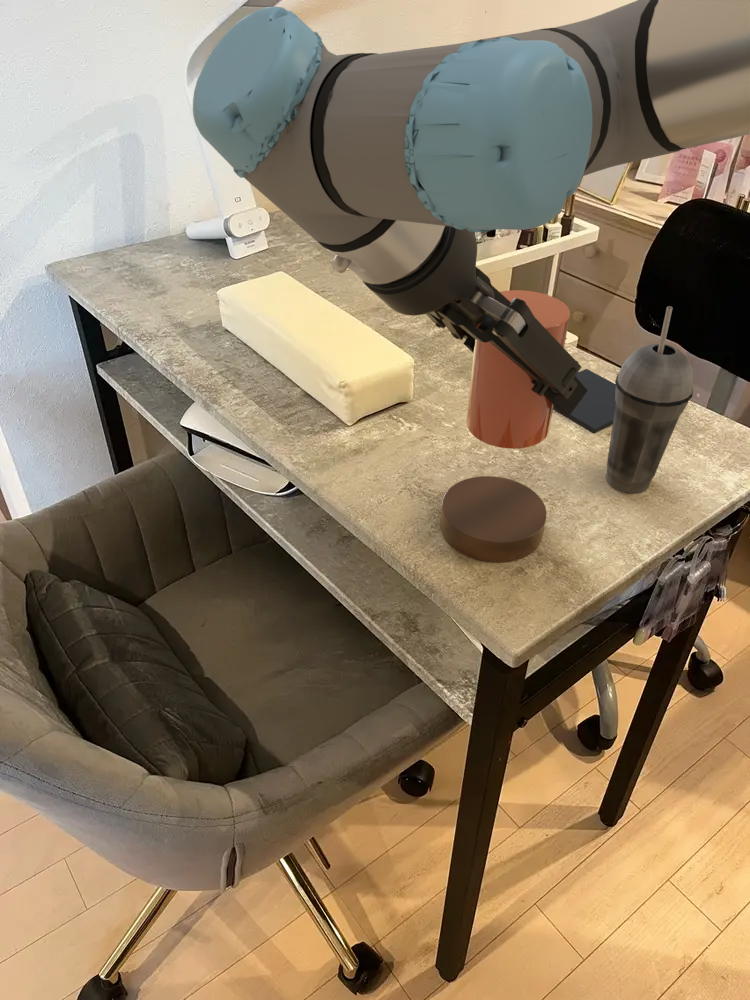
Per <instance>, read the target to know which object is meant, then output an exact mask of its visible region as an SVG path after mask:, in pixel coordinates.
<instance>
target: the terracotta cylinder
mask: <svg viewBox="0 0 750 1000" xmlns="http://www.w3.org/2000/svg"><path fill="white" fill-rule="evenodd" d="M499 292H500V293H501V294H502V295H503V296H504V297H506V298H507V299H508V300H509V301H510V302H512V301H513V299H514V298H518V299H521V300H523V301H525V302H526V305H527V306H528V307H529V308H530V310H531V312H532V313H533V315H534V317H535V318H536V319H537V320H538V321H539V322H540V323H541V324H542V325H543V326H544V328H545V329H546V330H547V331H548V332H549V333H550V334H551V335H552V336H553V337H554V338H555V339H556V340H557V341H558V342H559V343H560V344H561V345H562V347H563V348H564V349H565V345H566V339H567V334H568V328H569V322H570V317H571V312H570V309H569V307H568V305H567V304H566V303H564V302H563V301H561V300H560V299H558V298H556V297H554V296H551V295H550V294H546V293H542V292H537V291H533V290H523V289H522V290H521V289H519V290H518V289H516V290H515V289H514V290H513V289H512V290H510V289H509V290H501V291H499ZM481 323H482V322H481ZM481 323H480V324H481ZM480 324H477V325H476V328H478V327H479V325H480ZM472 353H473V354H472V364H471V373H470V381H469V382H470V384H469V394H468V401H467V402H468V404H467V413H466V427H467V430H468V431H469V433H470V434H471V435H472V436H473V437H474V438H476V439H477V440H479V441H480V442H483V443H485V444H486V445H490V446H493V447H496V448H501V449H508V450H509V449H511V450H512V449H513V450H514V449H515V450H516V449H517V450H518V449H526V448H531V447H533V446H536V445H538V444H540V443H542V442H544V440H545V439H546V438H547V437H548V435H549V433H550V427H551V421H552V416H553V410H554V409H553V406H554V405H553V404H552V403H551V402H550V401H549V400H548V399H547V398H546V397H545V396H544V395H542V396H540V395H538V394H536V393H535V392H533V391H532V390H531V389H532V388H533V386H534V384H533V383H532V382H531V381H532V380H533V378H532V377H531V376H529V375H528V374H527V373H526V372H525V371H523V370H522V369H521V368H520V367H519V366H517V365H516V364H515V363H514V362H513V361H511V360H510V359H509V358H508V357H507V356H506V355H504V354H503V353H502V352H501V351H500V350H498V349H497V348H496V347H495V346H494V345H492V344H491V343H490V342H487V343H484V342H482V341H479V340H476V339H475V342H474V352H472Z"/></svg>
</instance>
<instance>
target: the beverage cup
mask: <svg viewBox="0 0 750 1000" xmlns="http://www.w3.org/2000/svg"><path fill="white" fill-rule="evenodd" d="M672 312H673V307H672V306H670V305H669V306H667V307H666V309H665V315H664V319H663V324H662V328H661V333H660V337H659V342H658V343H651V344H647V345H644V346H642V347H639V348H638V349H636V350H635V351H633V352H632V353H631V354H630V355H629V356H628V357H627V358H626V359H625V360H624V362H623V364H622V365H621V367H620V369H619V371H618V373H617V375H616V377H615V381H614V384H616V389H615V401H616V406H615V413H614V419H613V424H612V425H611V434H610V440H609V442H610V443H609V448H608V454H607V461H606V474H605V480H606V482H607V483H608V485H609V486H610V487H612V488H613V489H614V490H616V491H619V492H621V493H625V494H636V495H637V494H641V493H644V492H645V491H647V490H648V489H649V487H650V485H651V483H652V481H653V479H654V477H655V475H656V473H657V471H658V468H659V466H660V464H661V462H662V459H663V457H664V454H665V451H666V449H667V447H668V445H669V442H670V441H671V438H672V436H673V433H674V431H675V428H676V425H677V423H678V421H679V419H680V416H681V415H682V414H683V413H684V412H685V409H686V407H687V406H688V404H689V401H690V400H691V399H692V398H693V395H694V383H695V375H694V374H695V373H694V369H693V365H692V364H691V362H690V361H689V359H688V357H687V356H686V355H685V354H684V352H682V351H681V350H679V349H678V348H677V347H674V346H672V345H669V344H666V340H667V337H668V336H667V335H668V331H669V327H670V322H671V317H672Z"/></svg>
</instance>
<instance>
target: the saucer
mask: <svg viewBox="0 0 750 1000" xmlns="http://www.w3.org/2000/svg"><path fill="white" fill-rule="evenodd" d="M441 500H442V501H441V508H440V519H439V522H440V523H439V527H440V531H441V533H442V536H443V538H444V539H445V541H446V542H447V543H448V544H449V545H450V546H451V547H452V548H453V549H455V550H456V551H457V552H458V553H461V554H463V555H465V556H467V557H469V558H472V559H474V560H478V561H482V562H489V563H507V562H513V561H517V560H521V559H523V558H525V557H527V556H529V555H531V554H532V553H533V552H534V551H535V550H537V548H539V546H540V545H541V542H542V539H543V536H544V532H545V531H544V530H545V526H546V521H547V516H548V515H547V507H546V505H545V503H544V501H543V500H542V498H541V497H540V496H539V495H538V494H537V493H536V492H535V491H534V490H532V489H531V488H530V487H529V486H527V485H525V484H523V483H521V482H519V481H516V480H513V479H511V478H507V477H501V476H494V475H493V476H492V475H482V476H474V477H469V478H466V479H463V480H460V481H458V482H457V483H454V484H453V485H452V486H450V487H449V488H448V490H446V491H445V493H444V495H443V497H442V499H441Z"/></svg>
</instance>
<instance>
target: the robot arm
mask: <svg viewBox="0 0 750 1000" xmlns="http://www.w3.org/2000/svg"><path fill="white" fill-rule="evenodd" d="M192 96H193V97H192V116H193V120H194V124H195V126H196V128H197V130H198V132H199V134H200V135H201V136H202V138H203V139H204V140H205V141H206V142H208V144H209V145H210V146H211V147H212V148H213V149H214V150H215V151H216V152H217V153H218V154H219V155H220V156H221V157H222V158H223V159H224V160H225V161H226V162H227V163H228V164H229V165H230V166H231V168H232V169H233V172H234V173H235V175H236V176H238V178H240V179H243V178H244V179H245V180H246V181H247V182H248V183H249V184H250V185H252V186H253V187H254V188H255V189H256V190H258V192H260V194H262V195H263V196H264V197H265V198H266V199H268V200H269V202H271V203H272V204H274V206H275V207H276V208H278V209H279V210H280V211H282V213H284V214H285V215H286V216H287V217H288V218H289V219H290V220H291V221H293V223H295V224H296V225H298V226H299V227H300V228H301V229H302V230H303V231H304V232H305V233H307V234H308V235H309V236H310V237H312V239H314V241H316V242H317V243H318V245H321V247H322V248H325V249H326V250H327V252H329V253H330V254H332V255H334V256H335V257H334V259H333V260H332V262H331V269H333V270H334V271H336V273H338V274H343V273H345V272H346V271H347V269H348V271H350V272H351V273H352V274H353V275H354V276H355V277H357V278H358V279H359V280H361V281H362V283H364V285H365V286H366V287H367V288H368V289H369V290H370V291H371V292H372V293H373V294H374V295H376V296H377V298H379V299H380V300H381V301H383V303H385V304H386V306H388V307H389V308H390V309H391V310H393V311H395V312H396V313H398V314H401V315H404V316H413V317H415V316H422V315H425V316H427V317H428V318H429V319H430V320H431V321H432V322H433V323H434V325H435V327H437V328H439V329H442V330H444V329H445V328H447V330H448V331H449V332H450V334H451V336H452V337H453V338H455V339H456V340H459V341H463V339H465V340H464V342H463V343H462V344H463V345H464V346H465V347H466V348H467V349H468V350H469V351H470V352H471V353H473V352H474V342H475V339H476V340H479V341H482V342H484V343H487V342H490V343H491V344H492V345H494V346H495V347H496V348H497V349H498V350H500V351H501V352H502V353H503V354H504V355H506V356H507V357H508V358H509V359H510V360H511V361H513V362H514V363H515V364H516V365H517V366H519V367H520V368H521V369H522V370H523V371H525V372H526V373H527V374H528V375H529V376H531V377H532V378H533V380H532V381H531V382H532V383H533V384H534V386H533V388H532V389H531V390H532V391H533V392H535V393H536V394H538V395H540V396H542V395H544V396H545V397H546V398H547V399H548V400H549V401H550V402H551V403H552V404H553V405H554V406H555V407H556V408H557V409H558V410H559V411H560V412H561V413H562V414H561V413H560V414H561V415H563V414H564V415H566V416H567V417H566V416H565V417H566V418H568V417H569V416H570V414H571V413H572V412H573V410H574V409H575V408H576V406H577V405H578V403H579V402H580V401H581V399H582V398H583V397H584V395H585V394H586V392H587V391H588V390H587V389H586V388H585V387H584V386H583V384H582V383H581V382H580V381H579V380H578V379H577V377H576V374H577V373H578V372H580V371H581V369H582V366H581V364H580V362H579V361H578V360H576V359H575V358H574V357H573V356H572V355H571V354H570V353H569V352H568V350H566V348H565V347H564V348H563V347H562V345H561V344H560V343H559V342H558V341H557V340H556V339H555V338H554V337H553V336H552V335H551V334H550V333H549V332H548V331H547V330H546V329H545V328H544V326H543V325H542V324H541V323H540V322H539V321H538V320H537V319H536V318H535V317H534V315H533V313H532V312H531V310H530V308H529V307H528V306H527V305H526V302H525V301H523V300H521V299H518V298H514V299H513V301H512V302H510V301H509V300H508V299H507V298H506V297H504V296H503V295H502V294H501V293H500V292H501V291H499V290H498V289H497V288H496V287H494V286H493V285H492V282H491V279H490V277H489V276H488V275H487V274H485V273H484V272H483V271H482V270H481V269H480V268H478V266H477V259H478V243H477V242H478V241H477V237H476V234H475V233H488V232H491V231H493V230H494V231H495V230H497V231H498V230H513V231H522V230H523V231H525V230H526V231H527V230H531V229H536V228H539V227H541V226H544V225H546V224H548V223H549V222H551V221H552V220H553V219H555V218H556V217H557V216H558V215H559V214H560V213H561V212H562V209H563V207H564V205H565V202H566V200H567V199H568V198H570V197H571V196H573V195H574V194H575V192H576V191H577V189H578V187H579V186H580V184H581V182H582V178H583V177H584V176H585V177H586V176H588V175H591V174H594V173H597V172H599V171H603V170H606V169H610V168H613V167H617V166H621V165H624V164H629V163H634V162H638V161H644V160H648V159H652V158H656V157H661V156H664V155H670V154H674V153H678V152H681V151H682V150H686V149H690V148H691V149H692V148H694V147H699V146H704V145H708V144H712V143H718V142H721V141H727V140H731V139H735V138H740V137H742V136H748V135H750V0H635V1H632V2H630V3H627V4H625V5H622V6H620V7H617V8H614V9H611V10H609V11H606V12H604V13H601V14H599V15H596V16H593V17H590V18H586V19H584V20H583V19H582V20H579V21H576V22H573V23H568V24H564V25H560V26H554V27H546V28H545V27H544V28H539V29H534V30H529V31H523V32H518V33H510V34H506V35H505V34H504V35H498V36H493V37H487V38H481V39H480V38H479V39H476V40H471V41H465V42H460V43H452V44H446V45H445V44H444V45H438V46H429V47H421V48H413V49H404V50H398V51H390V52H383V53H375V52H367V53H366V52H356V53H344V54H335V53H333V52H331V51H329V49H327V47H326V46H325V44H324V42H323V39H322V36H321V35H320V34H319V33H318V32H317V31H314V30H313V29H311V28H310V27H309V26H308V24H307V23H305V22H304V21H303V20H302V18H300V17H299V15H297V14H296V13H295V12H293V11H292V10H288V9H286V8H285V7H284V6H283V7H282V6H276V5H275V6H266V7H263V8H259V9H257V10H255V11H253V12H251V13H249V14H248V15H246V16H244V17H243V18H242V19H240V20H238V21H237V22H236V23H235V24H234V25H233V26H231V28H229V29H228V30H227V32H226V33H225V34H224V35H223V36H222V37H221V38H220V39H219V41H218V42H217V44H216V45H215V47H213V49H212V50H211V52H210V53H209V55H208V56H207V58H206V60H205V62H204V65H203V67H202V70H201V71H200V73H199V76H198V77H197V80H196V83H195V86H194V91H193V95H192ZM481 322H482V323H481ZM480 323H481V324H480ZM477 324H480V325H479V327H478V328H476V325H477ZM564 415H563V416H564Z"/></svg>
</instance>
